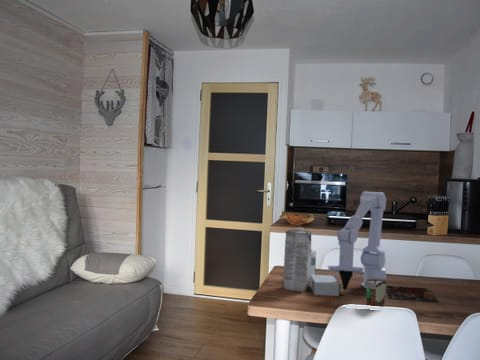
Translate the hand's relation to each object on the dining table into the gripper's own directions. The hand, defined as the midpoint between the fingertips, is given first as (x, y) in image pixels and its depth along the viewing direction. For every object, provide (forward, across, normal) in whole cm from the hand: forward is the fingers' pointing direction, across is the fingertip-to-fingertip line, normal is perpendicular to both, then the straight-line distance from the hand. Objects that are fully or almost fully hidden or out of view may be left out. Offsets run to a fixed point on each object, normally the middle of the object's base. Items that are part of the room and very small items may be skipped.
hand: (344, 288), depth 176 cm
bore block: (+2, -8, +3) cm, 9 cm away
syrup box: (+2, -13, +21) cm, 25 cm away
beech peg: (+1, -6, 0) cm, 6 cm away
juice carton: (+2, -20, +3) cm, 21 cm away
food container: (+2, +8, -15) cm, 17 cm away
